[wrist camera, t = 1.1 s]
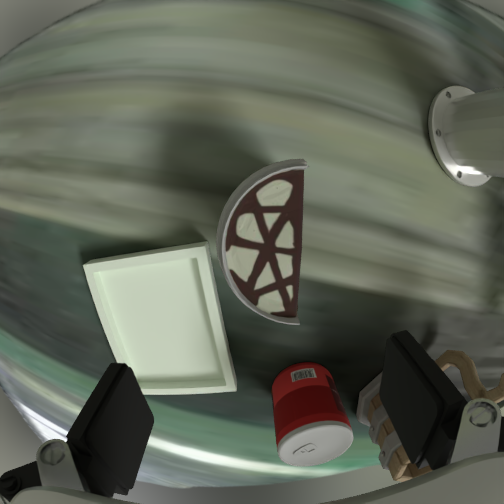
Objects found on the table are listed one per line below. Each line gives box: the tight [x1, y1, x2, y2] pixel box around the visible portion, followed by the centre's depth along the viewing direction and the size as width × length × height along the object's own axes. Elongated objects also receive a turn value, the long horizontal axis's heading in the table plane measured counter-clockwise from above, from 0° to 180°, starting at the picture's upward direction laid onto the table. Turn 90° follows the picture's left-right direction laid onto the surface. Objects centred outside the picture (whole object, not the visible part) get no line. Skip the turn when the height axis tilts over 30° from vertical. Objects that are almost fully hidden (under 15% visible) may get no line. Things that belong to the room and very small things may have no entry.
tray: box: [83, 241, 237, 395], centre depth 31 cm, size 14×18×2 cm
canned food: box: [271, 362, 353, 466], centre depth 29 cm, size 8×8×11 cm
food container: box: [216, 159, 309, 325], centre depth 24 cm, size 12×6×10 cm, turn 179°
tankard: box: [356, 350, 504, 482], centre depth 28 cm, size 20×13×15 cm, turn 142°
